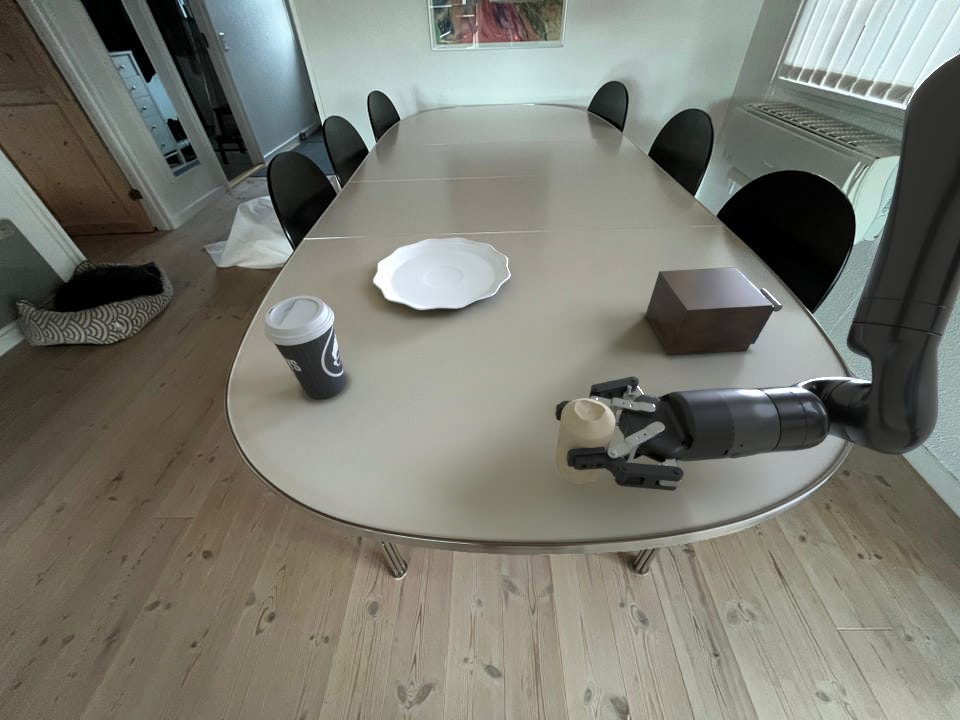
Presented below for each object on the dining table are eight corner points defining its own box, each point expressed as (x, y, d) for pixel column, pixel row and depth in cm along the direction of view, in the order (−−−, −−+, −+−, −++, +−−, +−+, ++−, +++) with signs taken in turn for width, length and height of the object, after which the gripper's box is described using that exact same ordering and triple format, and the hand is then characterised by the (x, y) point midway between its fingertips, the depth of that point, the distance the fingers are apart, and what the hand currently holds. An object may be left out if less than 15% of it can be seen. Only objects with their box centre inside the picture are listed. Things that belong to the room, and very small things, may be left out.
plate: (536, 288, 86) (537, 278, 84) (410, 337, 75) (408, 327, 73) (466, 235, 104) (466, 226, 103) (357, 269, 94) (355, 260, 92)
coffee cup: (323, 358, 71) (294, 286, 61) (367, 374, 68) (344, 301, 58) (282, 395, 65) (242, 322, 55) (328, 415, 62) (295, 341, 52)
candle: (603, 449, 49) (618, 393, 43) (600, 489, 45) (617, 434, 39) (558, 440, 51) (566, 385, 44) (551, 478, 47) (559, 424, 40)
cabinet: (715, 310, 78) (734, 266, 72) (747, 350, 70) (773, 305, 63) (645, 314, 78) (659, 271, 71) (669, 355, 70) (687, 310, 63)
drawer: (744, 307, 77) (762, 271, 72) (776, 342, 70) (799, 305, 64) (659, 312, 77) (671, 276, 72) (682, 348, 69) (698, 311, 64)
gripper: (696, 354, 47) (551, 364, 47) (769, 460, 36) (581, 474, 36) (678, 397, 52) (547, 406, 52) (736, 501, 41) (572, 514, 41)
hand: (562, 434), depth 44 cm, fingers closed on candle, 5 cm apart
